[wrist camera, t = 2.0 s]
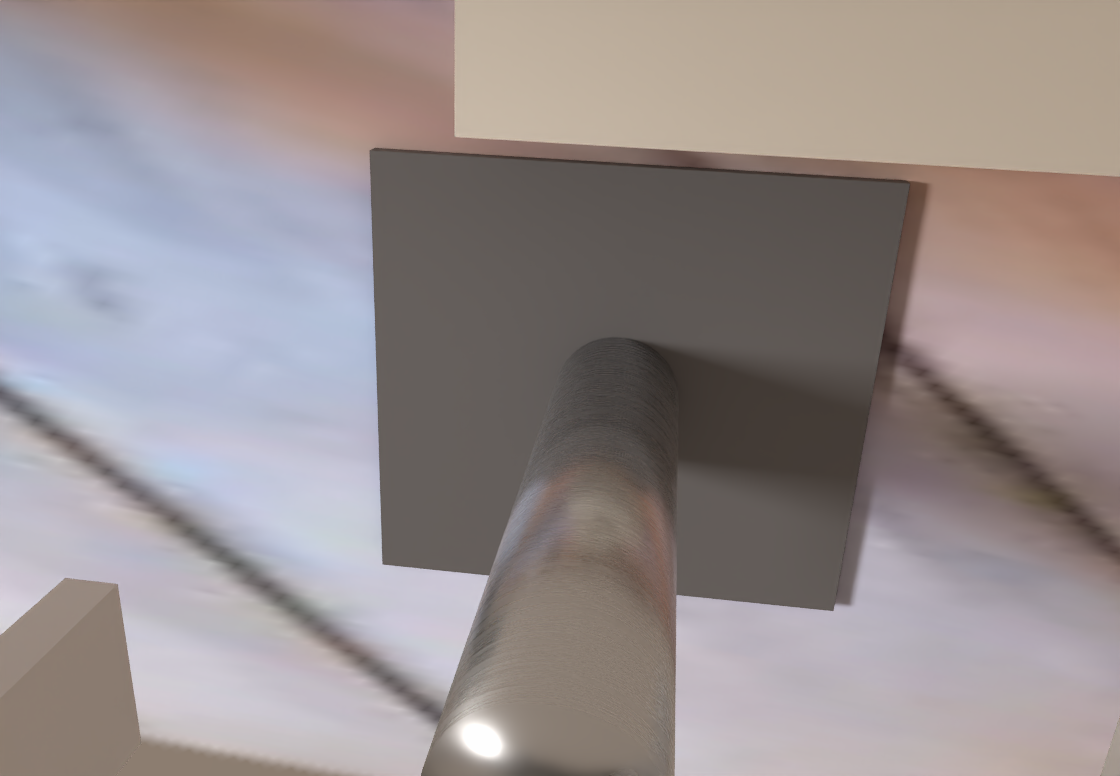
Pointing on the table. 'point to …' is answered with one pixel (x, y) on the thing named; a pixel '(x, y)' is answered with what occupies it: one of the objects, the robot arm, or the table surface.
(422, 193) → the mat
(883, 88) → the hole block
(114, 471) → the table surface
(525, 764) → the peg
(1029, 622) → the table surface
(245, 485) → the table surface
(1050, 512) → the table surface
